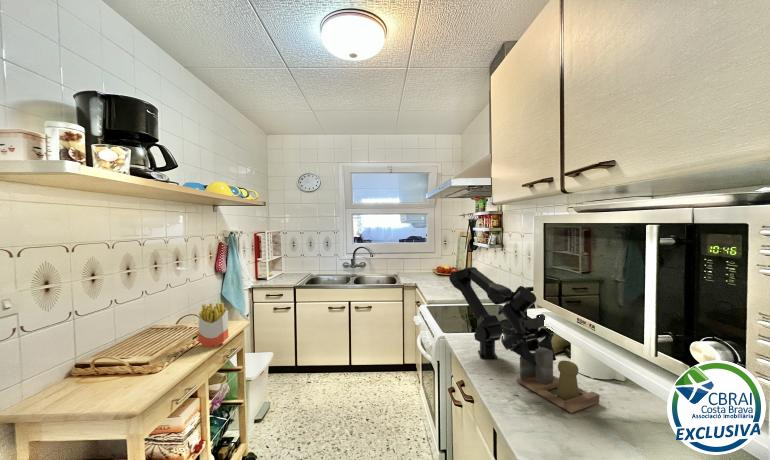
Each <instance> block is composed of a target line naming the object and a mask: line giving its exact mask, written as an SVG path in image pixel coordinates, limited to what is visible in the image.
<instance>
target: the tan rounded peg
mask: <svg viewBox="0 0 770 460" xmlns="http://www.w3.org/2000/svg"><path fill="white" fill-rule="evenodd" d="M557 369H558V372H559V377H558V378H559V383H558V387H557V388H556V389H557V391H556V396H557V397H559V398H561V399H563V400H565V401H566V400H569V399H572V398H575V397H577V396H579V390H578V388H579V384H578V378H577V375H578V374H579V367H578V364H576V363H575V362H573V361H570V360H560V361H559V362H558V363H557Z"/></svg>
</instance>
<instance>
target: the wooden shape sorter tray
mask: <svg viewBox="0 0 770 460" xmlns="http://www.w3.org/2000/svg"><path fill="white" fill-rule="evenodd" d="M531 354H532V356H533V358H534V359H535V361H536V363H537V365H536V366H533V365H532V364H531V363H529V362H528V361H527V360H525V359H524V358H523V357H521V356H519V376H517V377H516V379H515V381H516V382H517V383H519V385H520V384H521V385H523V387H526V388H527V389H529V390H530V391H533V392H534V393H536V394H538V395H539V396H542V397H543V398H545V399H546V400H548V401H550V402H552V403H553V404H555V405H556V406H558V407H560V408H562V409H564V410H565V411H566V412H569V413H570V414H573V413H575V412H578V411H580V410H584V409H586V408H588V407H591V406H593V405H595V404H599V403H600V394H598V393H596V392H595V391H589V392H588V391H586V390H584V389H581V388H579V387H578V390H579V396H577V397H575V398H572V399H569V400H566V401H565V400H563V399H561V398H559V397H557V394H556V395H555V394H554V393H552V392H550V390H553V389H557V388H558V383H559V377H557V376H554V361H553V351H551V350H549V349H546V348H544V347H542V348H540V347H538V348H535V352H534V353H531Z"/></svg>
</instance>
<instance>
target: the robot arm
mask: <svg viewBox="0 0 770 460" xmlns="http://www.w3.org/2000/svg"><path fill="white" fill-rule="evenodd" d="M448 278H449V282H450V283H451V285H452V286H453V287H454V288H455V289H456V290H458V291H460V292H461V294H462V296H463V298H464V300H465V301H466V303H467V305H468V306H469V308H470V310H471V312H472V313H473V315H474V317H475V319H476V321H477V322H476V328H477V331H476V332H474V334H473V336H474V337H473V338H474V340H475V341H477V342H479V350H477V353H478V356H479V358H480V359H489V360H498V359H499V358H498V355H497V354H496V341H500V340H501V337H502V334H503V326H502V323H501V322H500V321H499V319H498V317H497V315H495V314H493V315H490V314H489V313H488V311H487V309H486V308H485V306H484V304H483V303H482V302H481V300H480V298H479V296H478V295H477V293H476V292H475V290H474V288H473V287H472V282H473V283H475V284H476V285H477V286H478V287H480V288H481V289H482V290H483V291H484V292H485V293H486V295H487V298H488V299H489V300H490V301H491V302H492V304H494V305H503V306H499V307H498V313H497V314H498V315H499V316H501V315H504V317H505V319H506V320H507V322H508V323H509V324H510V325H509V326H508V328H509V329H510V330H513V331H514V333H510V334H509V335H508V336H507V337H506V338H504V339H503V341H502V345H503V346H504V347H503V348H504V349H505V350H506V351H508V350H510V351H511V352H513V353H515V354H517V355H518V356H519V357H523V358H524V359H525V360H527V361H528V362H529V363H531V364H532V365H533V366H536V365H537V363H536V361H535V359H534V358H533V356H532V354H533V353H532V352H531V351H530V349H529V348H528V342H529V341H533V340H535V342H537V344H536V345H537V346H538V348H542V347H544V348H546V349H549V350H551V351H553V362H554V361H557V356H556V354H555V350H554V347H553V343H552V340H553V338H554V335H555V334H556V332H555V333H554V332H553V331H551V330H550V329H548V328H546V327H547V326H544V320H545V317H546V315H545V314H544V313H539V314H536V315H535V316H536V317H534V318H530V316H525V314H524V313H525V312H526V311H527V310H529V308H531V306H533V305H534V304H535V303H536V302H537V297H536V295H535V294H534V293H533V292H532V291H531V290H529V289H528V288H525V286H518V287H517V288H516V289H515V291H512V290H511V289H510V287H508V286H505V285H503V284H499V283H496V282H494V281H493V280H492V279H490V278H489V277H488V276H486V275H485V274H484V273H482V272H481V271H479V270H478V268H477V267H475V266H469V267H464V268H463V269H459V270H455V271H451V272H450V274H449V276H448ZM539 316H540V317H539Z"/></svg>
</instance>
